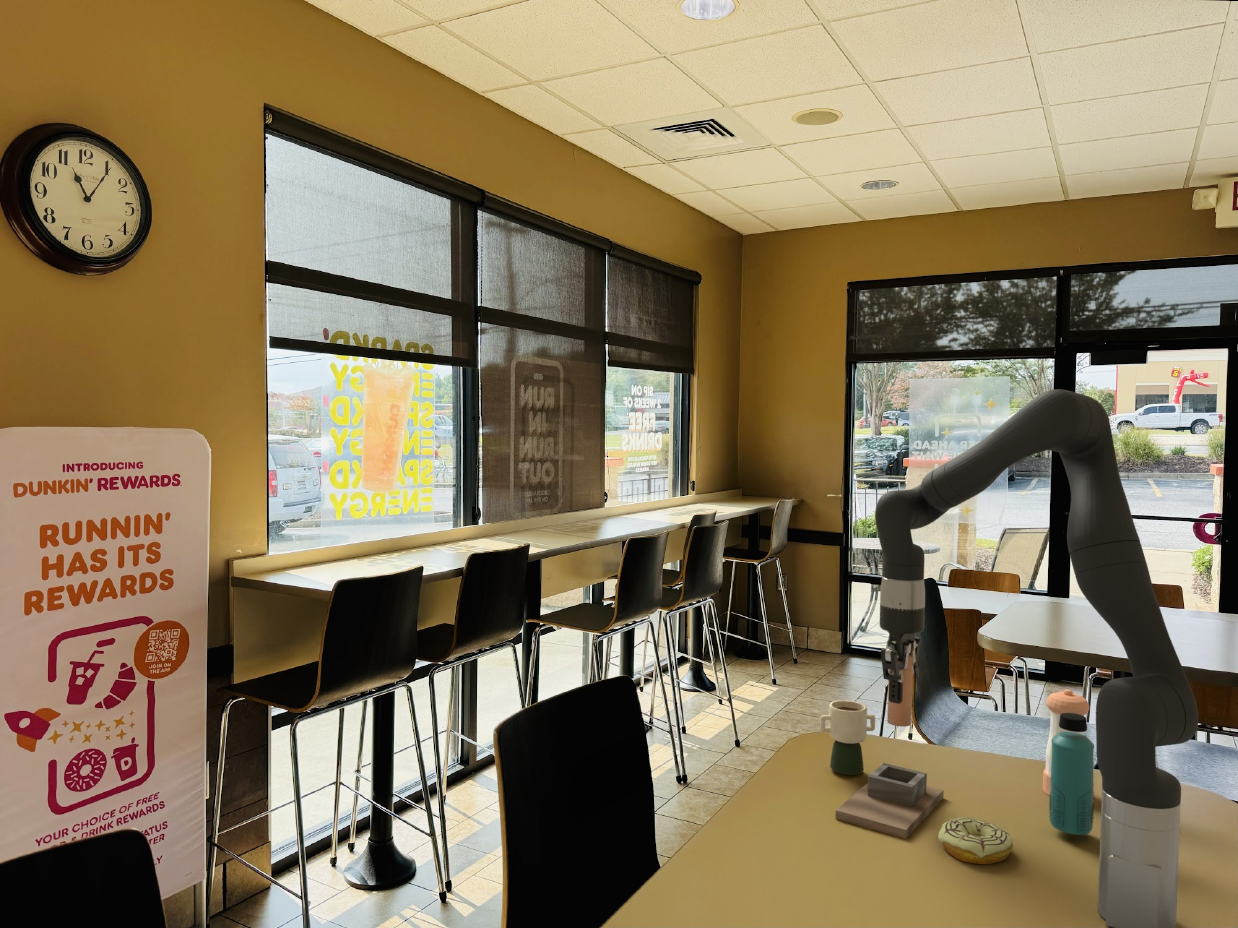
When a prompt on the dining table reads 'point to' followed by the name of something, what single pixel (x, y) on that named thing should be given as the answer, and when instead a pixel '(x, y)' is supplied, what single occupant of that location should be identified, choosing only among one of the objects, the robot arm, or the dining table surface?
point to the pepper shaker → (1058, 705)
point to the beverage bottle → (1072, 777)
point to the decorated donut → (975, 840)
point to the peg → (902, 711)
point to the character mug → (847, 734)
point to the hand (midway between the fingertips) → (899, 698)
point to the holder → (891, 801)
